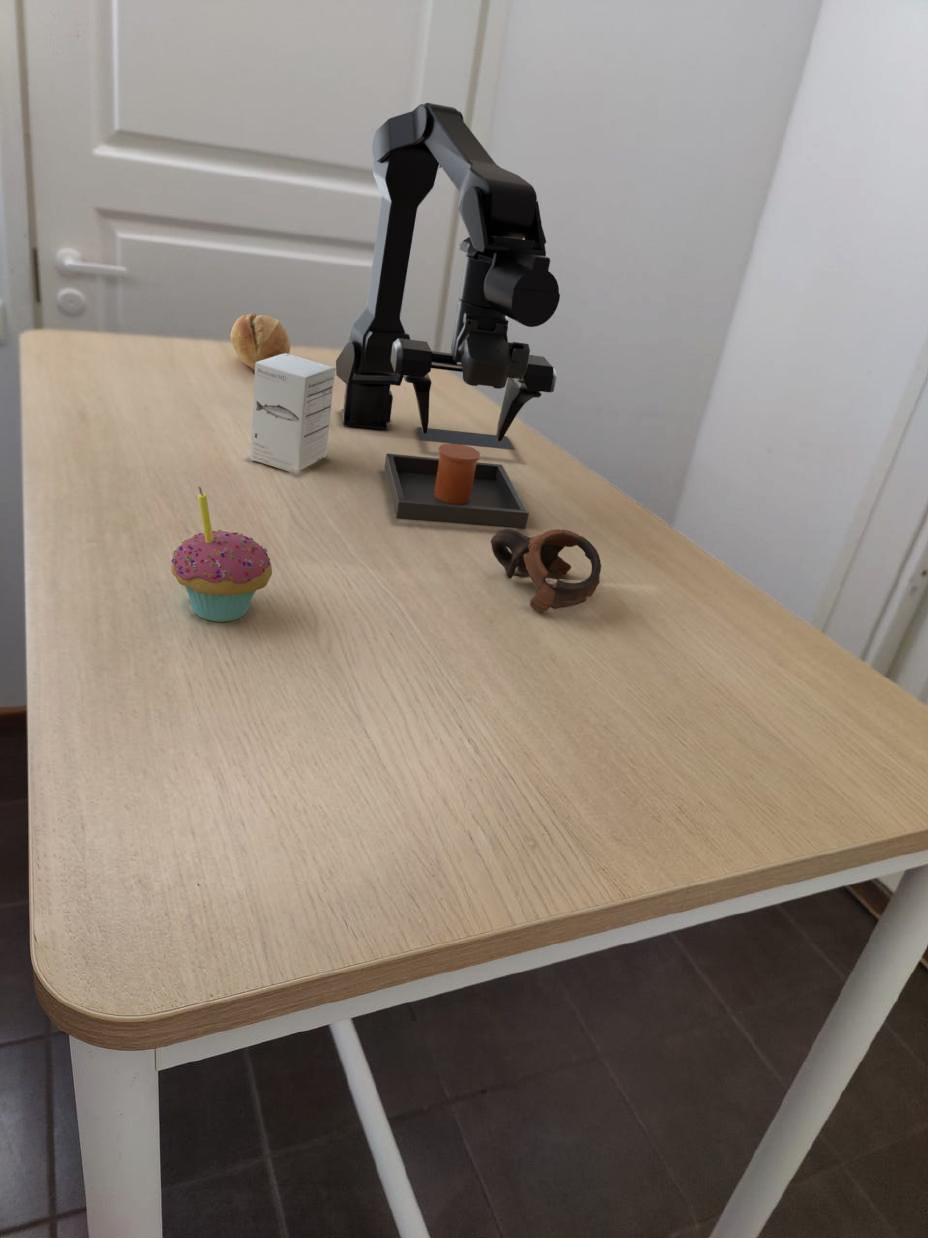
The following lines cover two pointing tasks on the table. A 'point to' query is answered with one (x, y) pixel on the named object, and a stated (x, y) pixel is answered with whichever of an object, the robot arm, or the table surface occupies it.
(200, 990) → the table surface
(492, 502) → the tray
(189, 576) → the cupcake
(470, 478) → the orange cylinder
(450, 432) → the mat
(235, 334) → the bread roll
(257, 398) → the white packaging box
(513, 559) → the broken pottery
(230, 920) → the table surface
